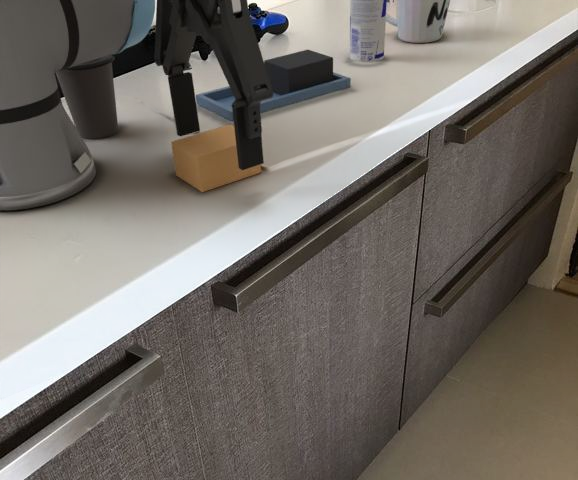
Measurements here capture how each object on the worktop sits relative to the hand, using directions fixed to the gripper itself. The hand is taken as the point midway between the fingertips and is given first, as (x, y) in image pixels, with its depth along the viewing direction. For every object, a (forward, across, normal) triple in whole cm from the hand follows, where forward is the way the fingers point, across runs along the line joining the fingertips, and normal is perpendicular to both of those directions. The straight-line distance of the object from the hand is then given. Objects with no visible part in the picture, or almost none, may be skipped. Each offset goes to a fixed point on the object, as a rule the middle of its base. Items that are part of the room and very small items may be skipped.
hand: (218, 148), depth 75 cm
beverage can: (+3, +22, -42) cm, 48 cm away
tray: (+3, +17, -20) cm, 27 cm away
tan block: (+3, 0, 0) cm, 3 cm away
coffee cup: (+3, +23, +5) cm, 24 cm away
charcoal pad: (+2, +17, -24) cm, 30 cm away
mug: (+3, +28, -57) cm, 64 cm away
